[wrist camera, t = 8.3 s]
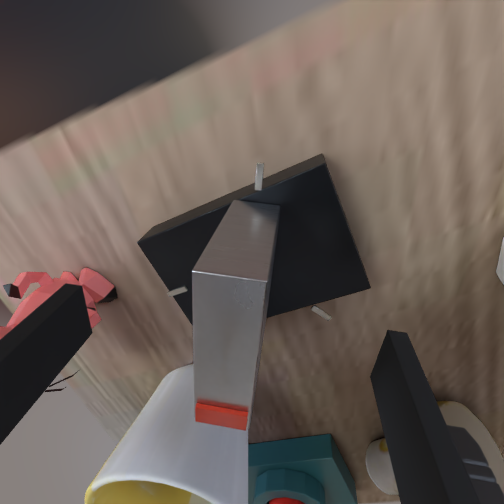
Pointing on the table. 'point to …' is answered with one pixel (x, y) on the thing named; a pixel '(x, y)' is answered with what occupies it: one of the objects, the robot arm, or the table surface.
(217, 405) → the spout
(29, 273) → the pink cat figurine
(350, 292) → the plate
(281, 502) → the button
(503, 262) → the vase
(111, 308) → the table surface
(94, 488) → the mug
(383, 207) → the table surface
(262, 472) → the switch
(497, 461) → the mug
